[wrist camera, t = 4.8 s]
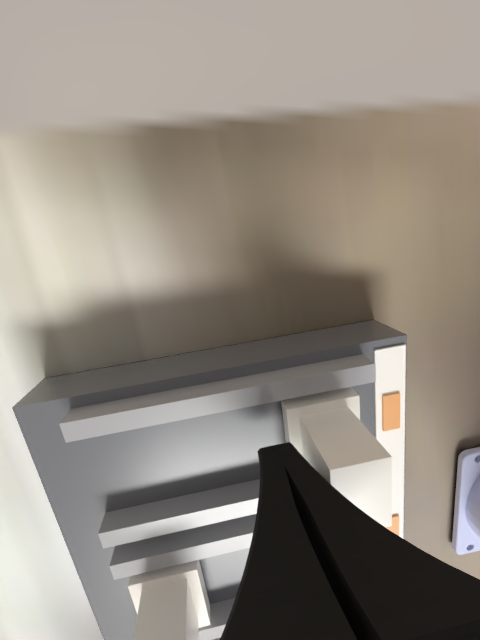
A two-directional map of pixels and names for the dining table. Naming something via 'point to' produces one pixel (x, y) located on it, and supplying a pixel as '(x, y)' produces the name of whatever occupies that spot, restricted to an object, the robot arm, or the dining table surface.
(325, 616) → the robot arm
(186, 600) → the tab far
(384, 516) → the tab near
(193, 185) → the dining table surface
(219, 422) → the switch bank
